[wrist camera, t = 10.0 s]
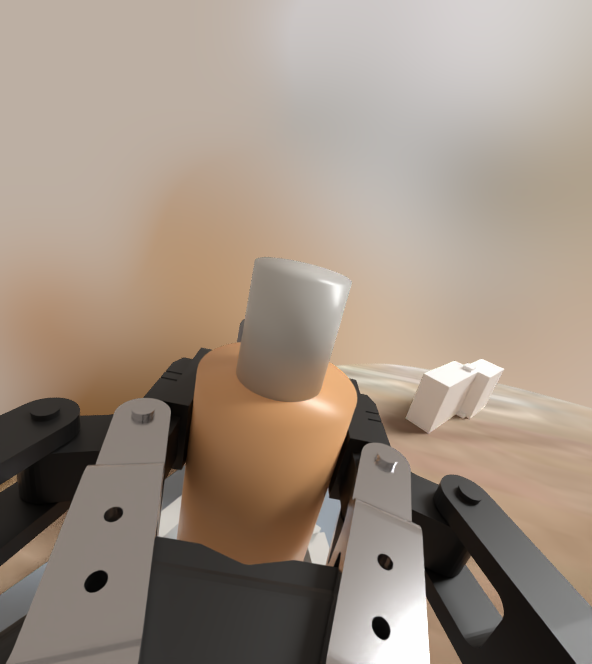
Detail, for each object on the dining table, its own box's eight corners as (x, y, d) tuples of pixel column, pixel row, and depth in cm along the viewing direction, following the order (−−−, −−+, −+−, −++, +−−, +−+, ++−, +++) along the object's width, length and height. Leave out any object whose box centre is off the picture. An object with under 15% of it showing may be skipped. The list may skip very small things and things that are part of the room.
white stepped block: (405, 449, 26) (430, 390, 24) (368, 378, 37) (384, 333, 35) (562, 470, 28) (598, 417, 26) (485, 397, 39) (506, 355, 37)
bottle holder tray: (250, 425, 24) (285, 254, 19) (393, 514, 20) (484, 318, 15) (-45, 640, 11) (-162, 264, 6) (180, 1081, 6) (412, 932, 1)
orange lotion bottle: (229, 508, 15) (280, 248, 11) (310, 572, 13) (411, 289, 9) (142, 592, 11) (167, 246, 7) (238, 698, 9) (353, 316, 5)
